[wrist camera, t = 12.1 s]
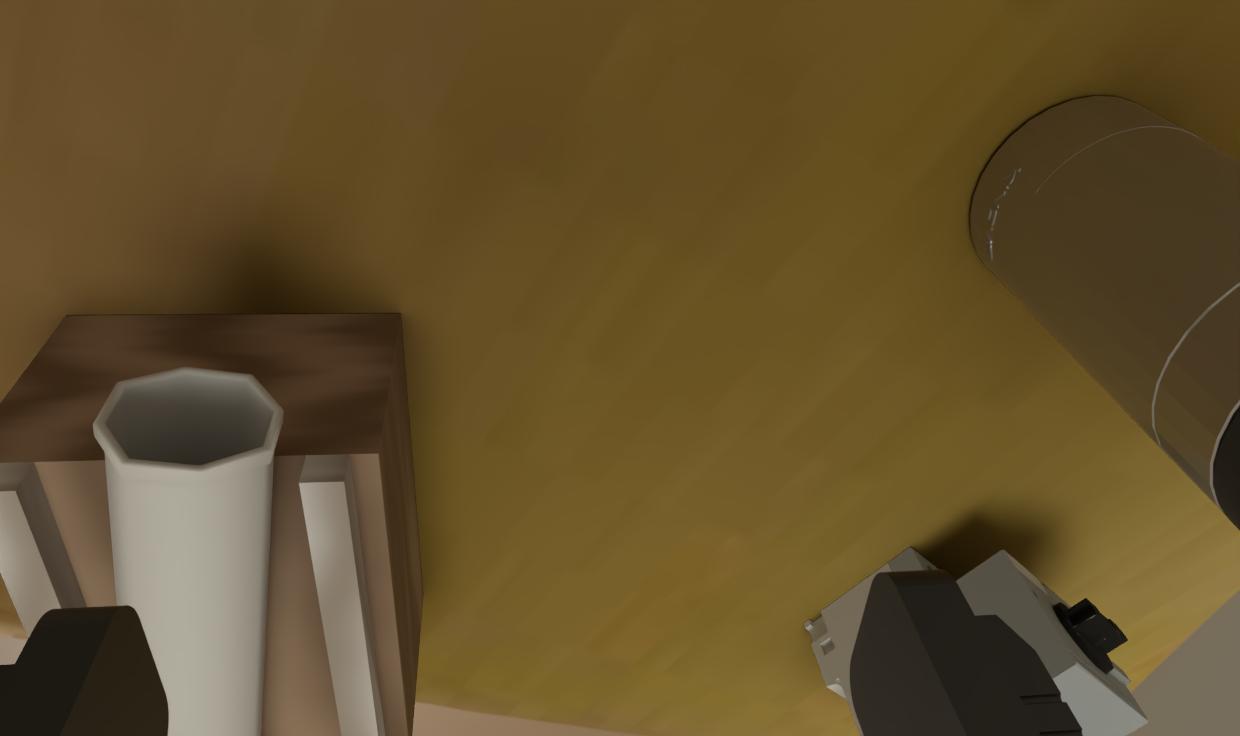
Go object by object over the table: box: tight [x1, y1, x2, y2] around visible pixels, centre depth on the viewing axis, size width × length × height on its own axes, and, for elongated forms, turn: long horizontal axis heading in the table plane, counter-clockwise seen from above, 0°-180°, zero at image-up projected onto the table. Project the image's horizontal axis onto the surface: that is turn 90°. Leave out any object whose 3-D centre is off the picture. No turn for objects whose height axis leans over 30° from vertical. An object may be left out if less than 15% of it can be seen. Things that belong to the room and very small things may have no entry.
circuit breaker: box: [804, 547, 1149, 736], centre depth 50 cm, size 8×14×15 cm, turn 136°
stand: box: [0, 314, 423, 736], centre depth 41 cm, size 14×18×12 cm
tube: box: [93, 367, 284, 736], centre depth 35 cm, size 5×5×25 cm
